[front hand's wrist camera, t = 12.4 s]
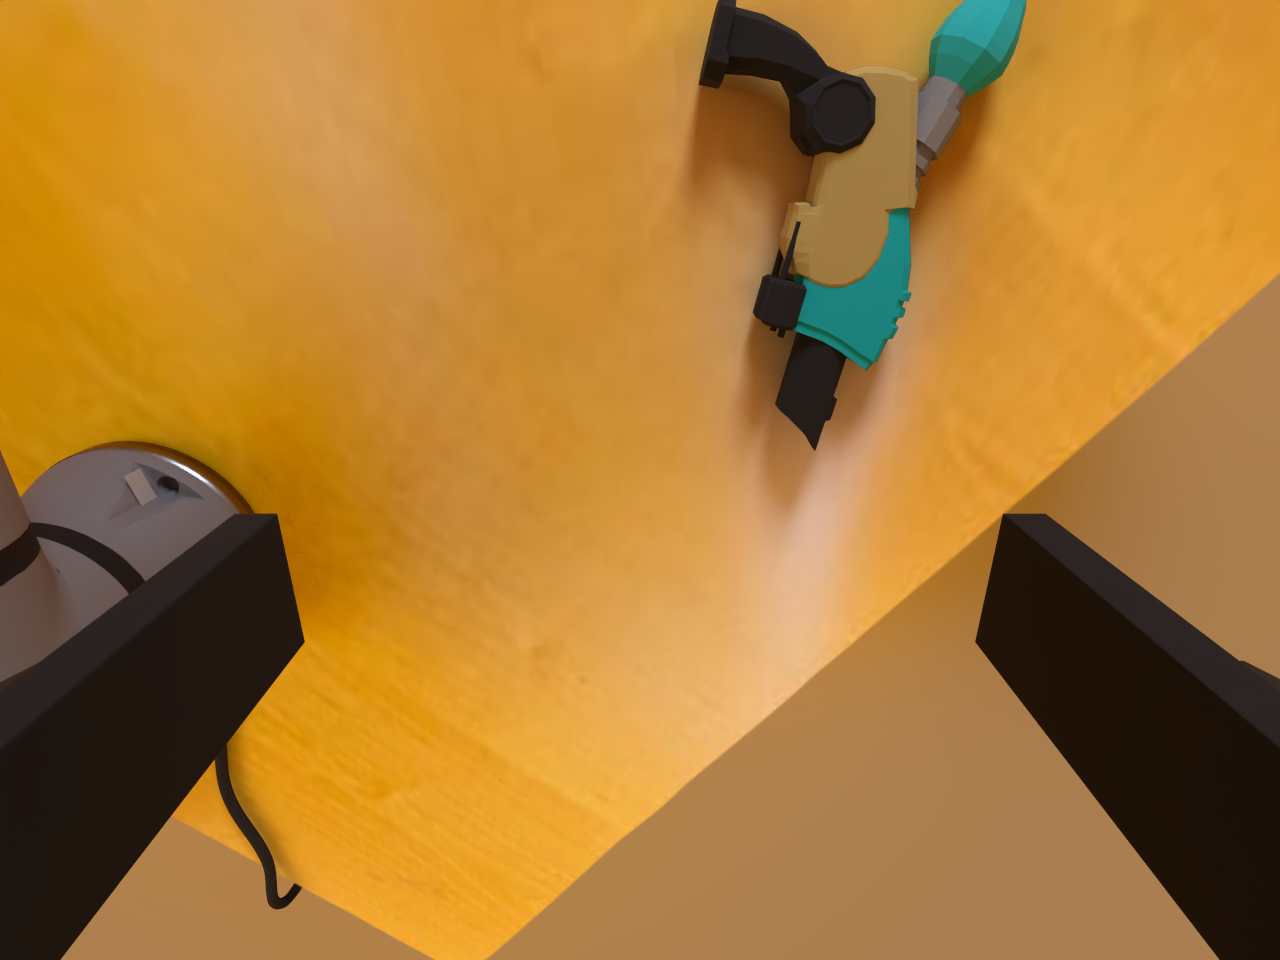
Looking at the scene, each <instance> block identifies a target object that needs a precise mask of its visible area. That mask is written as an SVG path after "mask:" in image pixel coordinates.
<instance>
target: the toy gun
mask: <svg viewBox="0 0 1280 960" xmlns="http://www.w3.org/2000/svg"><path fill="white" fill-rule="evenodd" d="M1025 10H1026V0H965V1H964V2H963V3H961V4H960V5H959V6H958V7H957V8H956V9H955V10H954V11H953V12H952V13H951V14H950V15H949V16H948V18H947V19H946V20H945V21H944V22H943V24H942V25H941V26H940V28H939V29H938V31H937V32H936V34H935V35H934V37H933V39H932V40H931V47H930V55H929V79H928V81H927V82H926V84H925V86H924V87H923V89H922V91H921V92H920V91H918V82H919V79H917V78H916V77H914V76H912V75H910V74H908V73H907V72H905V71H903V70H901V69H897V68H891V67H885V66H862V67H859V68H856V69H853V70H850V71H847V72H845V73H843V72H840V71H838V70H835V69H833V68H831V67H829V66H827V65H826V64H825V62H824V61H823V60H822V58H821V57H820V56H819V54H818V53H817V52H816V50H815V49H814V48H813V47H812V46H811V45H810V44H809V43H808V42H807V41H806V40H805V39H804V38H803V37H802V36H801V35H800V34H799V33H798V32H796V31H794V30H792V29H790V28H789V27H787V26H785V25H783V24H781V23H779V22H777V21H775V20H774V19H772V18H770V17H768V16H766V15H764V14H760V13H756V12H753V11H749V10H745V9H741V8H737V7H736V0H718V3H717V5H716V9H715V13H714V17H713V21H712V25H711V29H710V34H709V38H708V43H707V47H706V52H705V56H704V60H703V65H702V69H701V74H700V80H699V85H703V86H708V87H713V88H719V86H720V85H721V83H722V81H723V78H724V74H733V75H748V76H755V77H760V78H765V79H770V80H775V81H779V82H780V83H781V85H782V87H783V89H784V91H785V93H786V95H787V97H788V99H789V104H790V129H791V139H792V140H793V141H794V143H795V144H796V146H797V147H798V148H799V150H800V151H801V152H802V154H804V155H808V156H812V157H814V161H813V166H812V171H811V175H810V180H809V185H808V190H807V195H806V200H805V202H792V203H788V209H787V213H786V217H785V221H784V224H783V228H782V232H781V235H780V247H779V250H778V254H777V257H776V261H775V265H774V268H773V272H772V275H769V274H767V275H765V276H763V278H762V281H761V285H760V289H759V292H758V296H757V299H756V303H755V307H754V310H753V314H754V315H755V316H756V318H758V319H760V320H761V321H762V322H763V323H764V324H765V325H768V326H771V327H770V330H772V331H776V328H778V329H779V332H778V337H781V338H784V335H785V331H786V330H794V331H797V334H796V337H795V341H794V344H793V347H792V350H791V354H790V357H789V360H788V364H787V367H786V370H785V374H784V377H783V380H782V383H781V387H780V390H779V393H778V397H777V400H776V403H775V405H776V406H777V407H778V409H779V410H780V411H781V412H782V413H783V414H785V415H786V416H787V417H788V418H789V419H790V420H791V421H792V422H793V423H794V424H795V425H796V426H797V427H798V428H799V429H800V430H801V431H802V432H803V433H804V434H805V435H806V437H807V439H808V441H809V443H810V445H811V446H812V448H813V449H814V450H816V447H817V444H818V441H819V438H820V435H821V432H822V429H823V426H824V423H825V421H828V420H830V419H831V416H832V413H833V410H834V407H835V404H836V401H837V399H836V398H835V397H834V393H835V390H836V387H837V384H838V381H839V378H840V375H841V372H842V369H843V366H844V363H845V360H846V357H847V358H848V359H850V360H852V361H854V362H855V363H857V364H858V365H859V366H860V367H862V368H863V369H864V370H867V369H868V368H869V367H870V366H871V364H872V363H873V362H877V361H878V359H879V357H880V355H881V352H882V350H883V348H884V346H885V344H886V342H887V340H888V339H892V338H893V337H894V335H895V333H896V331H897V330H898V326H897V325H896V324H895V323H896V321H897V319H898V318H902V317H903V316H904V313H905V310H906V309H905V308H902V306H903V303H904V301H909V299H910V296H911V293H910V292H909V291H908V284H909V277H910V269H911V251H910V221H909V210H913V209H915V205H916V201H917V197H918V190H919V188H920V187H921V183H920V181H919V178H920V176H925V175H926V173H927V172H928V170H929V169H930V164H929V161H930V160H935V159H938V158H939V156H940V155H941V153H942V151H943V150H944V148H945V147H946V145H947V143H948V142H949V140H950V139H951V137H952V135H953V134H954V132H955V131H956V129H957V127H958V126H959V124H960V123H961V121H962V118H961V114H960V112H959V110H960V108H961V107H962V105H963V103H964V102H965V100H966V99H967V97H969V96H971V95H972V94H974V93H976V92H977V91H979V90H981V89H983V88H984V87H986V86H988V85H989V84H991V83H992V82H993V81H995V80H996V79H997V78H999V77H1000V76H1002V74H1003V72H1004V71H1005V69H1006V67H1007V66H1008V64H1009V62H1010V60H1011V57H1012V55H1013V53H1014V51H1015V48H1016V45H1017V42H1018V39H1019V35H1020V31H1021V27H1022V22H1023V18H1024V14H1025ZM783 258H784V265H783V268H782V272H781V275H780V277H779V276H778V273H779V270H780V266H781V263H782V259H783ZM788 273H790V274H793V275H794V276H793V280H790V279H787V274H788Z"/></svg>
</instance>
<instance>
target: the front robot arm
mask: <svg viewBox="0 0 1280 960" xmlns="http://www.w3.org/2000/svg"><path fill="white" fill-rule="evenodd" d="M304 642H305V641H304V636H303V632H302V627H301V623H300V618H299V613H298V609H297V604H296V599H295V595H294V590H293V586H292V581H291V576H290V572H289V567H288V562H287V558H286V553H285V549H284V544H283V539H282V535H281V530H280V526H279V521H278V516H277V514H254V512H253V511H252V509H251V507H250V506H249V505H248V503H247V502H246V501H245V499H244V498H243V497H242V496H241V495H240V493H239V492H238V491H237V490H236V489H235V488H234V487H233V486H232V485H231V484H230V483H229V482H228V481H226V480H225V479H224V478H223V477H222V476H220V475H219V474H218V473H217V472H215V471H214V470H212V469H211V468H210V467H208V466H206V465H205V464H203V463H201V462H200V461H198V460H196V459H194V458H192V457H190V456H188V455H186V454H184V453H181V452H179V451H176V450H173V449H170V448H167V447H164V446H160V445H156V444H151V443H144V442H133V441H121V442H111V443H104V444H100V445H96V446H93V447H91V448H88V449H85V450H83V451H81V452H78V453H76V454H74V455H72V456H69V457H67V458H65V459H63V460H61V461H59V462H58V463H56V464H55V465H53V466H52V467H50V468H49V469H48V470H47V471H46V472H44V473H43V474H42V475H41V476H40V477H39V478H38V479H37V480H36V481H35V482H34V483H33V484H32V485H31V486H30V487H29V488H28V489H27V491H26V492H25V493H24V494H23V495H22V496H21V497H20V496H19V494H18V492H17V489H16V487H15V484H14V482H13V480H12V477H11V475H10V473H9V470H8V468H7V465H6V463H5V461H4V458H3V456H2V453H1V451H0V960H61V958H62V957H63V956H64V954H65V953H66V952H67V950H68V949H69V948H70V947H71V945H72V944H73V943H74V941H75V940H76V939H77V937H78V936H79V935H80V934H81V932H82V931H83V930H84V928H85V927H86V926H87V924H88V923H89V922H90V921H91V919H92V918H93V917H94V915H95V914H96V913H97V911H98V910H99V909H100V908H101V906H102V905H103V904H104V902H105V901H106V900H107V898H108V897H109V896H110V895H111V893H112V892H113V891H114V889H115V888H116V887H117V885H118V884H119V883H120V882H121V880H122V879H123V878H124V876H125V875H126V874H127V872H128V871H129V870H130V869H131V867H132V866H133V865H134V863H135V862H136V861H137V859H138V858H139V857H140V856H141V854H142V853H143V852H144V850H145V849H146V848H147V846H148V845H149V844H150V842H151V841H152V840H153V839H154V837H155V836H156V835H157V833H158V832H159V831H160V829H161V828H162V827H163V826H164V824H165V823H166V822H167V820H168V819H169V818H170V817H171V815H172V814H173V813H174V811H175V810H176V809H177V807H178V806H179V805H180V804H181V802H182V801H183V800H184V798H185V797H186V796H187V794H188V793H189V792H190V791H191V789H192V788H193V787H194V785H195V784H196V783H197V781H198V780H199V779H200V777H201V776H202V775H203V774H204V772H205V771H206V770H207V768H208V767H209V766H210V764H211V763H212V762H213V761H214V759H215V766H216V775H217V781H218V786H219V789H220V793H221V796H222V798H223V801H224V803H225V805H226V807H227V809H228V811H229V813H230V815H231V816H232V818H233V820H234V821H235V823H236V824H237V826H238V827H239V828H240V830H241V831H242V833H243V834H244V835H245V837H246V838H247V839H248V841H249V842H250V844H251V845H252V847H253V848H254V850H255V852H256V853H257V855H258V857H259V859H260V861H261V863H262V865H263V868H264V873H265V881H266V894H267V901H268V904H269V905H270V906H271V907H272V908H273V909H282V908H284V907H286V906H288V905H289V904H290V903H291V902H292V901H293V900H294V899H295V897H296V896H297V895H298V893H299V892H300V890H301V889H302V887H301V886H299V885H298V884H296V883H294V884H293V886H292V887H291V889H290V890H289V892H288V893H287V894H286V895H285V896H284V897H282V898H279V896H278V893H277V879H276V870H275V864H274V861H273V858H272V855H271V853H270V851H269V849H268V847H267V845H266V844H265V842H264V840H263V839H262V837H261V836H260V834H259V833H258V831H257V830H256V828H255V827H254V826H253V824H252V823H251V821H250V820H249V819H248V817H247V816H246V814H245V813H244V811H243V809H242V808H241V806H240V804H239V802H238V800H237V798H236V796H235V794H234V791H233V788H232V785H231V782H230V777H229V772H228V762H227V748H226V744H227V742H228V741H229V740H230V738H231V737H232V736H233V735H234V733H235V732H236V731H237V729H238V728H239V727H240V725H241V724H242V723H243V722H244V720H245V719H246V718H247V716H248V715H249V714H250V712H251V711H252V710H253V709H254V707H255V706H256V705H257V703H258V702H259V701H260V699H261V698H262V697H263V696H264V694H265V693H266V692H267V690H268V689H269V688H270V686H271V685H272V684H273V683H274V681H275V680H276V679H277V677H278V676H279V675H280V673H281V672H282V671H283V670H284V668H285V667H286V666H287V664H288V663H289V662H290V660H291V659H292V658H293V657H294V655H295V654H296V653H297V651H298V650H299V649H300V647H301V646H302V645H303V644H304ZM975 642H976V643H977V645H978V646H979V647H980V649H981V650H982V651H983V653H984V654H985V655H986V657H987V658H988V659H989V660H990V662H991V663H992V664H993V666H994V667H995V668H996V670H997V671H998V672H999V673H1000V675H1001V676H1002V677H1003V679H1004V680H1005V681H1006V683H1007V684H1008V685H1009V686H1010V688H1011V689H1012V690H1013V692H1014V693H1015V694H1016V696H1017V697H1018V698H1019V699H1020V701H1021V702H1022V703H1023V705H1024V706H1025V707H1026V709H1027V710H1028V711H1029V712H1030V714H1031V715H1032V716H1033V718H1034V719H1035V720H1036V722H1037V723H1038V724H1039V725H1040V727H1041V728H1042V729H1043V731H1044V732H1045V733H1046V735H1047V736H1048V737H1049V738H1050V740H1051V741H1052V742H1053V744H1054V745H1055V746H1056V748H1057V749H1058V750H1059V751H1060V753H1061V754H1062V755H1063V757H1064V758H1065V759H1066V760H1067V762H1068V763H1069V764H1070V766H1071V767H1072V768H1073V770H1074V771H1075V772H1076V774H1077V775H1078V776H1079V777H1080V779H1081V780H1082V781H1083V783H1084V784H1085V785H1086V787H1087V788H1088V789H1089V791H1090V792H1091V793H1092V794H1093V796H1094V797H1095V798H1096V800H1097V801H1098V802H1099V804H1100V805H1101V806H1102V807H1103V809H1104V810H1105V811H1106V813H1107V814H1108V815H1109V817H1110V818H1111V819H1112V820H1113V822H1114V823H1115V824H1116V826H1117V827H1118V828H1119V829H1120V831H1121V832H1122V833H1123V835H1124V836H1125V837H1126V839H1127V840H1128V841H1129V843H1130V844H1131V845H1132V846H1133V848H1134V849H1135V850H1136V852H1137V853H1138V854H1139V856H1140V857H1141V858H1142V859H1143V861H1144V862H1145V863H1146V865H1147V866H1148V867H1149V869H1150V870H1151V871H1152V872H1153V874H1154V875H1155V876H1156V878H1157V879H1158V880H1159V882H1160V883H1161V884H1162V885H1163V887H1164V888H1165V889H1166V891H1167V892H1168V893H1169V895H1170V896H1171V897H1172V898H1173V900H1174V901H1175V902H1176V904H1177V905H1178V906H1179V908H1180V909H1181V910H1182V911H1183V913H1184V914H1185V915H1186V917H1187V918H1188V919H1189V921H1190V922H1191V923H1192V924H1193V926H1194V927H1195V928H1196V930H1197V931H1198V932H1199V934H1200V935H1201V936H1202V937H1203V939H1204V940H1205V941H1206V943H1207V944H1208V945H1209V947H1210V948H1211V949H1212V950H1213V952H1214V953H1215V954H1216V956H1217V957H1218V958H1219V959H1220V960H1280V679H1279V678H1277V677H1275V676H1273V675H1271V674H1269V673H1267V672H1265V671H1263V670H1261V669H1259V668H1257V667H1255V666H1253V665H1251V664H1249V663H1247V662H1245V661H1239V660H1237V659H1236V658H1235V657H1233V656H1232V655H1231V654H1229V653H1228V652H1227V651H1225V650H1224V649H1223V648H1221V647H1220V646H1219V645H1218V644H1216V643H1215V642H1214V641H1212V640H1211V639H1210V638H1208V637H1207V636H1206V635H1204V634H1203V633H1202V632H1200V631H1199V630H1198V629H1196V628H1195V627H1194V626H1192V625H1191V624H1190V623H1189V622H1187V621H1186V620H1185V619H1183V618H1182V617H1181V616H1179V615H1178V614H1177V613H1175V612H1174V611H1173V610H1171V609H1170V608H1169V607H1167V606H1166V605H1165V604H1164V603H1162V602H1161V601H1160V600H1158V599H1157V598H1156V597H1154V596H1153V595H1152V594H1150V593H1149V592H1148V591H1146V590H1145V589H1144V588H1142V587H1141V586H1140V585H1139V584H1137V583H1136V582H1135V581H1133V580H1132V579H1131V578H1129V577H1128V576H1127V575H1125V574H1124V573H1123V572H1121V571H1120V570H1119V569H1117V568H1116V567H1115V566H1113V565H1112V564H1111V563H1110V562H1108V561H1107V560H1106V559H1104V558H1103V557H1102V556H1100V555H1099V554H1098V553H1096V552H1095V551H1094V550H1092V549H1091V548H1090V547H1088V546H1087V545H1086V544H1085V543H1083V542H1082V541H1081V540H1079V539H1078V538H1077V537H1075V536H1074V535H1073V534H1071V533H1070V532H1069V531H1067V530H1066V529H1065V528H1063V527H1062V526H1061V525H1060V524H1058V523H1057V522H1056V521H1054V520H1053V519H1052V518H1050V517H1049V516H1048V515H1046V514H1003V516H1002V521H1001V526H1000V530H999V535H998V539H997V544H996V549H995V553H994V558H993V562H992V567H991V572H990V576H989V581H988V586H987V590H986V595H985V599H984V604H983V609H982V613H981V618H980V623H979V627H978V632H977V637H976V641H975Z"/></svg>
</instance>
